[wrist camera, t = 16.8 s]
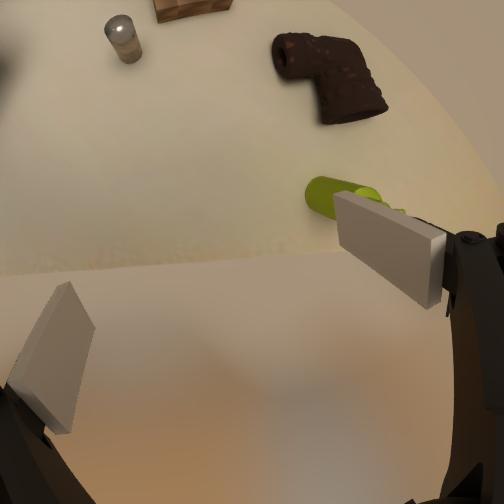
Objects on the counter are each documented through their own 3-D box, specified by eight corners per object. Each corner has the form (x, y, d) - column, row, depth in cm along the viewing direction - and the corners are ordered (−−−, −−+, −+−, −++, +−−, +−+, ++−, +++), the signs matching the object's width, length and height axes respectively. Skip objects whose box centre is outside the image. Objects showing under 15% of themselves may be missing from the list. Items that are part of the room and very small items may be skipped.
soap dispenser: (303, 217, 50) (373, 258, 31) (306, 175, 48) (381, 194, 29) (335, 217, 51) (411, 255, 33) (338, 177, 49) (420, 197, 30)
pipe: (283, 19, 32) (318, 116, 35) (368, 23, 35) (401, 107, 38) (262, 50, 41) (290, 133, 44) (339, 46, 44) (366, 120, 47)
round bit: (115, 57, 35) (98, 31, 24) (130, 40, 34) (118, 10, 24) (131, 67, 36) (118, 43, 26) (146, 50, 36) (138, 22, 25)
